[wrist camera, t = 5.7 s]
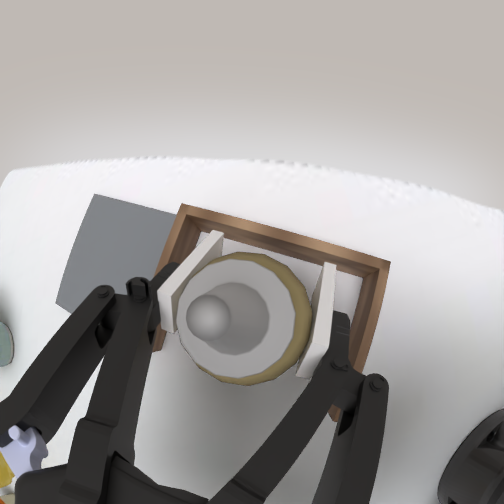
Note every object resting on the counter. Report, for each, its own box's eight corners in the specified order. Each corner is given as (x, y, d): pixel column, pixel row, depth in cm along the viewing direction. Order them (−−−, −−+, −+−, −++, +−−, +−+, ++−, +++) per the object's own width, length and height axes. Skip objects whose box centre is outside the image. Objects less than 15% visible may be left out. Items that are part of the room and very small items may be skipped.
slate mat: (194, 221, 27) (193, 219, 26) (149, 355, 24) (147, 355, 24) (96, 195, 29) (94, 193, 29) (58, 303, 26) (55, 303, 26)
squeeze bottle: (213, 278, 25) (90, 194, 8) (301, 270, 25) (344, 157, 7) (219, 366, 23) (98, 443, 6) (309, 359, 23) (376, 446, 5)
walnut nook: (373, 271, 24) (390, 261, 20) (332, 406, 21) (342, 423, 17) (196, 221, 27) (181, 203, 22) (153, 347, 24) (130, 350, 20)
